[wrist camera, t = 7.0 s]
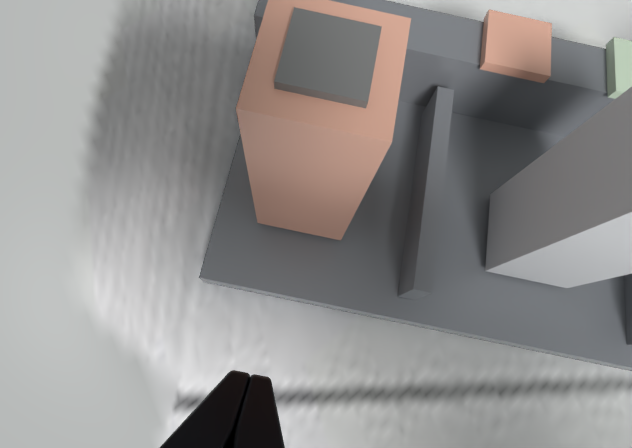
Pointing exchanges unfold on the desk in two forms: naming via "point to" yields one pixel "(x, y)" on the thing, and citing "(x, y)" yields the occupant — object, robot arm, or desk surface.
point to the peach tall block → (319, 110)
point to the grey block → (569, 207)
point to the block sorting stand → (448, 194)
